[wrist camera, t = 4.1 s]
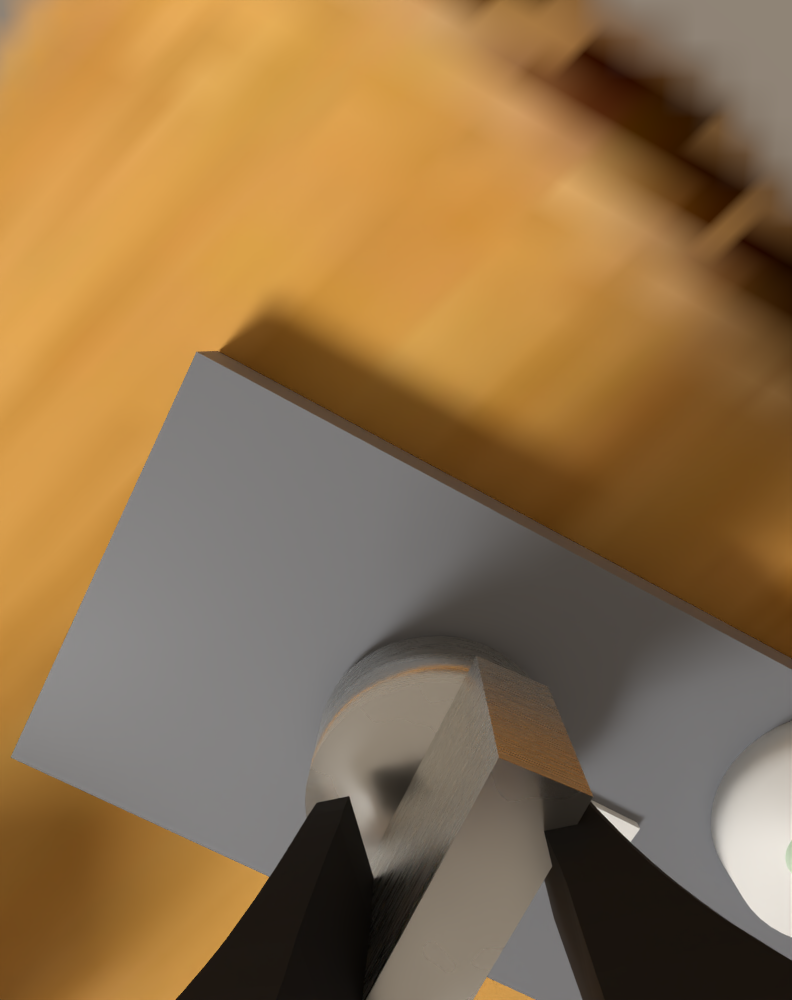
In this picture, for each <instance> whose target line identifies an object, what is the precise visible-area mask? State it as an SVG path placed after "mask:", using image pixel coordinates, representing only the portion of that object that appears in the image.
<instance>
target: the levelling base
mask: <svg viewBox="0 0 792 1000" xmlns="http://www.w3.org/2000/svg"><path fill="white" fill-rule="evenodd" d="M422 636H450V637H458V638H463V639H467V640H472V641H475V642H477V643H480V644H483V645H486V646H488V647H490V648H492V649H494V650H496V651H498V652H500V653H502V654H503V655H505V656H506V657H507V658H509V659H510V660H512V661H513V662H514V663H516V664H517V665H518V666H519V667H520V668H521V669H522V670H523V671H524V672H525V673H526V674H527V675H528V676H529V677H530V679H532V680H534V681H537V682H539V683H541V684H544V685H546V686H548V688H549V690H550V692H551V695H552V697H553V700H554V702H555V705H556V707H557V709H558V712H559V714H560V717H561V719H562V722H563V724H564V726H565V729H566V731H567V734H568V736H569V739H570V741H571V743H572V746H573V748H574V751H575V753H576V756H577V758H578V760H579V763H580V765H581V768H582V770H583V773H584V775H585V777H586V780H587V782H588V785H589V787H590V790H591V792H592V795H593V798H592V800H591V802H592V803H593V804H594V806H595V807H596V808H597V809H598V810H599V811H600V812H601V813H602V814H603V815H604V816H605V817H606V818H607V819H608V820H609V821H610V822H611V823H612V824H613V825H614V826H615V827H616V828H617V829H618V831H619V832H620V833H622V834H623V835H624V836H625V837H626V838H627V839H628V840H629V841H630V842H631V843H632V844H633V845H634V846H635V847H636V848H637V849H639V850H640V851H641V852H642V853H643V854H644V855H645V856H646V857H647V858H648V859H650V860H651V861H652V862H653V863H654V864H655V865H656V866H658V867H659V868H660V869H661V870H662V871H663V872H665V873H666V874H667V875H668V876H669V877H671V878H672V879H673V880H674V881H676V882H677V883H678V884H679V885H681V886H682V887H683V888H685V889H686V890H687V891H688V892H690V893H691V894H692V895H694V896H695V897H696V898H698V899H699V900H700V901H702V902H703V903H704V904H706V905H707V906H709V907H710V908H711V909H713V910H714V911H716V912H717V913H718V914H720V915H721V916H723V917H724V918H725V919H727V920H728V921H730V922H731V923H733V924H734V925H736V926H737V927H739V928H741V929H742V930H744V931H745V932H747V933H749V934H750V935H752V936H753V937H755V938H757V939H758V940H760V941H761V942H763V943H765V944H766V945H768V946H769V947H771V948H773V949H774V950H776V951H777V952H779V953H781V954H782V955H784V956H785V957H787V958H789V959H790V960H792V658H790V657H788V656H786V655H784V654H782V653H780V652H779V651H777V650H775V649H773V648H771V647H769V646H767V645H766V644H764V643H762V642H760V641H758V640H756V639H754V638H752V637H751V636H749V635H747V634H745V633H743V632H741V631H739V630H738V629H736V628H734V627H732V626H730V625H728V624H726V623H724V622H723V621H721V620H719V619H717V618H715V617H713V616H711V615H710V614H708V613H706V612H704V611H702V610H700V609H698V608H696V607H695V606H693V605H691V604H689V603H687V602H685V601H683V600H682V599H680V598H678V597H676V596H674V595H672V594H670V593H668V592H667V591H665V590H663V589H661V588H659V587H657V586H655V585H654V584H652V583H650V582H648V581H646V580H644V579H642V578H640V577H639V576H637V575H635V574H633V573H631V572H629V571H627V570H626V569H624V568H622V567H620V566H618V565H616V564H614V563H612V562H611V561H609V560H607V559H605V558H603V557H601V556H599V555H598V554H596V553H594V552H592V551H590V550H588V549H586V548H584V547H583V546H581V545H579V544H577V543H575V542H573V541H571V540H570V539H568V538H566V537H564V536H562V535H560V534H558V533H556V532H555V531H553V530H551V529H549V528H547V527H545V526H543V525H542V524H540V523H538V522H536V521H534V520H532V519H530V518H528V517H527V516H525V515H523V514H521V513H519V512H517V511H515V510H514V509H512V508H510V507H508V506H506V505H504V504H502V503H500V502H499V501H497V500H495V499H493V498H491V497H489V496H487V495H486V494H484V493H482V492H480V491H478V490H476V489H474V488H472V487H471V486H469V485H467V484H465V483H463V482H461V481H459V480H458V479H456V478H454V477H452V476H450V475H448V474H446V473H444V472H443V471H441V470H439V469H437V468H435V467H433V466H431V465H430V464H428V463H426V462H424V461H422V460H420V459H418V458H416V457H415V456H413V455H411V454H409V453H407V452H405V451H403V450H402V449H400V448H398V447H396V446H394V445H392V444H390V443H388V442H387V441H385V440H383V439H381V438H379V437H377V436H375V435H374V434H372V433H370V432H368V431H366V430H364V429H362V428H360V427H359V426H357V425H355V424H353V423H351V422H349V421H347V420H346V419H344V418H342V417H340V416H338V415H336V414H334V413H332V412H331V411H329V410H327V409H325V408H323V407H321V406H319V405H318V404H316V403H314V402H312V401H310V400H308V399H306V398H304V397H303V396H301V395H299V394H297V393H295V392H293V391H291V390H290V389H288V388H286V387H284V386H282V385H280V384H278V383H276V382H275V381H273V380H271V379H269V378H267V377H265V376H263V375H262V374H260V373H258V372H256V371H254V370H252V369H250V368H248V367H247V366H245V365H243V364H241V363H239V362H237V361H235V360H234V359H232V358H230V357H228V356H226V355H224V354H222V353H220V352H219V351H207V352H196V354H195V357H194V359H193V361H192V363H191V365H190V367H189V370H188V372H187V374H186V376H185V378H184V381H183V383H182V385H181V387H180V389H179V391H178V394H177V396H176V398H175V400H174V402H173V405H172V407H171V409H170V411H169V413H168V415H167V418H166V420H165V422H164V424H163V426H162V429H161V431H160V433H159V435H158V437H157V439H156V442H155V444H154V446H153V448H152V450H151V453H150V455H149V457H148V459H147V461H146V463H145V466H144V468H143V470H142V472H141V474H140V477H139V479H138V481H137V483H136V485H135V487H134V490H133V492H132V494H131V496H130V498H129V501H128V503H127V505H126V507H125V509H124V511H123V514H122V516H121V518H120V520H119V522H118V524H117V527H116V529H115V531H114V533H113V535H112V538H111V540H110V542H109V544H108V546H107V548H106V551H105V553H104V555H103V557H102V559H101V562H100V564H99V566H98V568H97V570H96V572H95V575H94V577H93V579H92V581H91V583H90V586H89V588H88V590H87V592H86V594H85V596H84V599H83V601H82V603H81V605H80V607H79V610H78V612H77V614H76V616H75V618H74V620H73V623H72V625H71V627H70V629H69V631H68V634H67V636H66V638H65V640H64V642H63V644H62V647H61V649H60V651H59V653H58V655H57V658H56V660H55V662H54V664H53V666H52V668H51V671H50V673H49V675H48V677H47V679H46V682H45V684H44V686H43V688H42V690H41V692H40V695H39V697H38V699H37V701H36V703H35V706H34V708H33V710H32V712H31V714H30V716H29V719H28V721H27V723H26V725H25V727H24V730H23V732H22V734H21V736H20V738H19V740H18V743H17V745H16V747H15V749H14V751H13V754H12V756H11V758H13V759H15V760H17V761H19V762H21V763H24V764H26V765H28V766H30V767H32V768H35V769H37V770H39V771H41V772H43V773H45V774H48V775H50V776H52V777H54V778H56V779H58V780H61V781H63V782H65V783H67V784H69V785H71V786H74V787H76V788H78V789H80V790H82V791H84V792H87V793H89V794H91V795H93V796H95V797H97V798H100V799H102V800H104V801H106V802H108V803H110V804H113V805H115V806H117V807H119V808H121V809H123V810H126V811H128V812H130V813H132V814H134V815H136V816H139V817H141V818H143V819H145V820H147V821H150V822H152V823H154V824H156V825H158V826H160V827H163V828H165V829H167V830H169V831H171V832H173V833H176V834H178V835H180V836H182V837H184V838H186V839H189V840H191V841H193V842H195V843H197V844H199V845H202V846H204V847H206V848H208V849H210V850H212V851H215V852H217V853H219V854H221V855H223V856H225V857H228V858H230V859H232V860H234V861H236V862H238V863H241V864H243V865H245V866H247V867H249V868H251V869H254V870H256V871H258V872H260V873H262V874H265V875H267V876H269V877H270V875H271V874H272V872H273V871H274V869H275V868H276V866H277V865H278V863H279V862H280V860H281V858H282V857H283V855H284V854H285V852H286V850H287V849H288V847H289V846H290V844H291V842H292V841H293V839H294V837H295V836H296V834H297V833H298V831H299V829H300V828H301V826H302V824H303V823H304V821H305V820H306V809H305V794H306V784H307V780H308V776H309V771H310V767H311V763H312V758H313V754H314V749H315V745H316V741H317V736H318V732H319V728H320V723H321V719H322V715H323V711H324V709H325V706H326V704H327V701H328V699H329V697H330V695H331V693H332V692H333V690H334V688H335V687H336V685H337V684H338V683H339V681H340V680H341V679H342V677H343V676H344V675H345V674H346V673H347V672H348V671H349V670H350V669H351V668H352V667H353V666H354V665H355V664H357V663H358V662H359V661H361V660H362V659H363V658H365V657H366V656H368V655H369V654H371V653H373V652H374V651H376V650H378V649H380V648H382V647H385V646H387V645H389V644H392V643H394V642H398V641H401V640H405V639H409V638H415V637H422ZM487 977H488V978H490V979H492V980H495V981H497V982H499V983H501V984H503V985H505V986H508V987H510V988H512V989H514V990H516V991H518V992H521V993H523V994H525V995H527V996H529V997H531V998H534V999H536V1000H582V997H581V994H580V991H579V988H578V986H577V983H576V980H575V977H574V974H573V971H572V969H571V966H570V963H569V960H568V957H567V954H566V952H565V949H564V946H563V943H562V940H561V937H560V934H559V932H558V929H557V926H556V923H555V920H554V917H553V913H552V909H551V905H550V901H549V897H548V893H547V889H546V885H545V881H543V883H542V884H541V886H540V888H539V889H538V891H537V893H536V894H535V896H534V898H533V900H532V901H531V903H530V905H529V906H528V908H527V910H526V911H525V913H524V915H523V916H522V918H521V920H520V921H519V923H518V925H517V927H516V928H515V930H514V932H513V933H512V935H511V937H510V938H509V940H508V942H507V943H506V945H505V947H504V948H503V950H502V952H501V953H500V955H499V957H498V959H497V960H496V962H495V964H494V965H493V967H492V969H491V970H490V972H489V974H488V975H487Z"/></svg>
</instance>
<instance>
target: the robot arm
mask: <svg viewBox="0 0 792 1000" xmlns="http://www.w3.org/2000/svg"><path fill="white" fill-rule="evenodd" d="M544 833H545V838H546V842H547V846H548V851H549V855H550V859H551V864H552V868H551V869H550V871H549V873H548V874H547V876H546V878H545V879H544V881H545V885H546V889H547V893H548V897H549V901H550V905H551V909H552V913H553V917H554V920H555V923H556V926H557V929H558V932H559V934H560V937H561V940H562V943H563V946H564V949H565V952H566V954H567V957H568V960H569V963H570V966H571V969H572V971H573V974H574V977H575V980H576V983H577V986H578V988H579V991H580V994H581V997H582V1000H792V960H790V959H789V958H787V957H785V956H784V955H782V954H781V953H779V952H777V951H776V950H774V949H773V948H771V947H769V946H768V945H766V944H765V943H763V942H761V941H760V940H758V939H757V938H755V937H753V936H752V935H750V934H749V933H747V932H745V931H744V930H742V929H741V928H739V927H737V926H736V925H734V924H733V923H731V922H730V921H728V920H727V919H725V918H724V917H723V916H721V915H720V914H718V913H717V912H716V911H714V910H713V909H711V908H710V907H709V906H707V905H706V904H704V903H703V902H702V901H700V900H699V899H698V898H696V897H695V896H694V895H692V894H691V893H690V892H688V891H687V890H686V889H685V888H683V887H682V886H681V885H679V884H678V883H677V882H676V881H674V880H673V879H672V878H671V877H669V876H668V875H667V874H666V873H665V872H663V871H662V870H661V869H660V868H659V867H658V866H656V865H655V864H654V863H653V862H652V861H651V860H650V859H648V858H647V857H646V856H645V855H644V854H643V853H642V852H641V851H640V850H639V849H637V848H636V847H635V846H634V845H633V844H632V843H631V842H630V841H629V840H628V839H627V838H626V837H625V836H624V835H623V834H622V833H620V832H619V831H618V829H617V828H616V827H615V826H614V825H613V824H612V823H611V822H610V821H609V820H608V819H607V818H606V817H605V816H604V815H603V814H602V813H601V812H600V811H599V810H598V809H597V808H596V807H595V806H594V804H593V803H592V802H590V803H589V805H588V807H587V809H586V810H585V812H584V814H583V815H582V817H581V819H580V820H579V822H578V824H576V825H571V826H566V827H561V828H556V829H551V830H546V831H544ZM373 883H374V877H373V874H372V870H371V867H370V864H369V860H368V857H367V854H366V850H365V847H364V844H363V840H362V837H361V834H360V830H359V827H358V824H357V820H356V817H355V814H354V810H353V807H352V804H351V800H350V797H349V796H346V797H342V798H337V799H332V800H327V801H322V802H318V803H316V804H315V806H314V807H313V809H312V810H311V812H310V813H309V815H308V816H307V818H306V820H305V821H304V823H303V824H302V826H301V828H300V829H299V831H298V833H297V834H296V836H295V837H294V839H293V841H292V842H291V844H290V846H289V847H288V849H287V850H286V852H285V854H284V855H283V857H282V858H281V860H280V862H279V863H278V865H277V866H276V868H275V869H274V871H273V872H272V874H271V875H270V877H269V878H268V880H267V882H266V883H265V885H264V886H263V888H262V889H261V891H260V892H259V894H258V895H257V897H256V898H255V900H254V901H253V903H252V904H251V905H250V907H249V908H248V910H247V911H246V912H245V914H244V915H243V917H242V918H241V919H240V921H239V922H238V923H237V925H236V926H235V928H234V929H233V930H232V932H231V933H230V935H229V936H228V937H227V939H226V940H225V941H224V943H223V944H222V945H221V946H220V948H219V949H218V950H217V952H216V953H215V954H214V955H213V957H212V958H211V959H210V960H209V962H208V963H207V964H206V965H205V966H204V968H203V969H202V970H201V971H200V972H199V973H198V975H197V976H196V977H195V978H194V979H193V980H192V982H191V983H190V984H189V985H188V986H187V987H186V989H185V990H184V991H183V992H182V993H181V994H180V995H179V997H178V998H177V999H176V1000H362V997H363V988H364V980H365V971H366V963H367V954H368V946H369V937H370V928H371V915H372V899H373Z"/></svg>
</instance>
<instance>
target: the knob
mask: <svg viewBox="0 0 792 1000" xmlns="http://www.w3.org/2000/svg"><path fill="white" fill-rule="evenodd" d="M346 796H349V797H350V800H351V804H352V807H353V810H354V814H355V817H356V820H357V824H358V827H359V830H360V834H361V837H362V840H363V844H364V847H365V850H366V854H367V857H368V860H369V864H370V867H371V870H372V874H373V877H374V883H373V899H372V915H371V928H370V937H369V946H368V954H367V963H366V971H365V980H364V988H363V997H362V1000H473V999H474V997H475V996H476V994H477V992H478V991H479V989H480V987H481V986H482V984H483V982H484V980H485V979H486V977H487V975H488V974H489V972H490V970H491V969H492V967H493V965H494V964H495V962H496V960H497V959H498V957H499V955H500V953H501V952H502V950H503V948H504V947H505V945H506V943H507V942H508V940H509V938H510V937H511V935H512V933H513V932H514V930H515V928H516V927H517V925H518V923H519V921H520V920H521V918H522V916H523V915H524V913H525V911H526V910H527V908H528V906H529V905H530V903H531V901H532V900H533V898H534V896H535V894H536V893H537V891H538V889H539V888H540V886H541V884H542V883H543V881H544V879H545V878H546V876H547V874H548V873H549V871H550V869H551V868H552V864H551V859H550V855H549V851H548V846H547V842H546V838H545V833H544V831H546V830H551V829H556V828H561V827H566V826H571V825H576V824H578V822H579V820H580V819H581V817H582V815H583V814H584V812H585V810H586V809H587V807H588V805H589V803H590V802H591V800H592V798H593V795H592V792H591V790H590V787H589V785H588V782H587V780H586V777H585V775H584V773H583V770H582V768H581V765H580V763H579V760H578V758H577V756H576V753H575V751H574V748H573V746H572V743H571V741H570V739H569V736H568V734H567V731H566V729H565V726H564V724H563V722H562V719H561V717H560V714H559V712H558V709H557V707H556V705H555V702H554V700H553V697H552V695H551V692H550V690H549V688H548V686H546V685H544V684H541V683H539V682H537V681H534V680H532V679H530V677H529V676H528V675H527V674H526V673H525V672H524V671H523V670H522V669H521V668H520V667H519V666H518V665H517V664H516V663H514V662H513V661H512V660H510V659H509V658H507V657H506V656H505V655H503V654H502V653H500V652H498V651H496V650H494V649H492V648H490V647H488V646H486V645H483V644H480V643H477V642H475V641H472V640H467V639H463V638H458V637H450V636H422V637H415V638H409V639H405V640H401V641H398V642H394V643H392V644H389V645H387V646H385V647H382V648H380V649H378V650H376V651H374V652H373V653H371V654H369V655H368V656H366V657H365V658H363V659H362V660H361V661H359V662H358V663H357V664H355V665H354V666H353V667H352V668H351V669H350V670H349V671H348V672H347V673H346V674H345V675H344V676H343V677H342V679H341V680H340V681H339V683H338V684H337V685H336V687H335V688H334V690H333V692H332V693H331V695H330V697H329V699H328V701H327V704H326V706H325V709H324V711H323V715H322V719H321V723H320V728H319V732H318V736H317V741H316V745H315V749H314V754H313V758H312V763H311V767H310V771H309V776H308V780H307V784H306V794H305V809H306V818H307V816H308V815H309V813H310V812H311V810H312V809H313V807H314V806H315V804H316V803H318V802H322V801H327V800H332V799H337V798H342V797H346Z"/></svg>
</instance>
